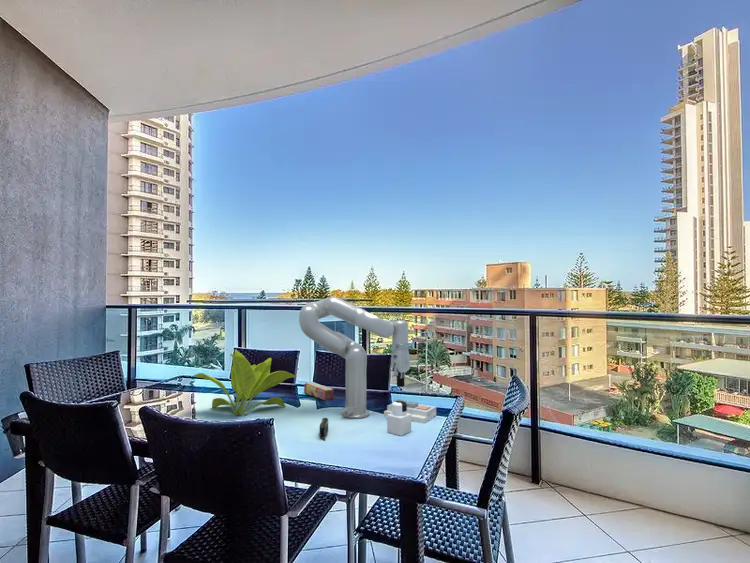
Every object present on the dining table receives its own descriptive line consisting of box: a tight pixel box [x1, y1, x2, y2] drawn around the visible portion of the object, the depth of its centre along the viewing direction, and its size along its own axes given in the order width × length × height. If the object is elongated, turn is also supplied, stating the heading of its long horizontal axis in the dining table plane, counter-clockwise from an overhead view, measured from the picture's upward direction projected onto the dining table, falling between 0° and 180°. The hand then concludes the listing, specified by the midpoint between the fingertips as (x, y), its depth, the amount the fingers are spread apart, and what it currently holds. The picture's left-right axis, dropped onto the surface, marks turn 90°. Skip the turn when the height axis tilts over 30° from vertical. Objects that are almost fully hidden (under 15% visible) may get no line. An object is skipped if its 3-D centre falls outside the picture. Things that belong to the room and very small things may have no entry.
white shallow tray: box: [383, 401, 437, 424], centre depth 185 cm, size 13×20×4 cm, turn 58°
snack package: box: [303, 381, 335, 402], centre depth 219 cm, size 21×7×7 cm, turn 40°
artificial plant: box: [192, 349, 297, 417], centre depth 191 cm, size 42×43×30 cm
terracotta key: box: [417, 406, 430, 410], centre depth 183 cm, size 4×4×2 cm
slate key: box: [406, 400, 419, 408], centre depth 186 cm, size 4×4×2 cm
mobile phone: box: [319, 417, 329, 441], centre depth 161 cm, size 5×3×15 cm
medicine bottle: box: [386, 400, 412, 437], centre depth 163 cm, size 7×7×12 cm
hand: (400, 386), depth 189 cm, fingers closed
